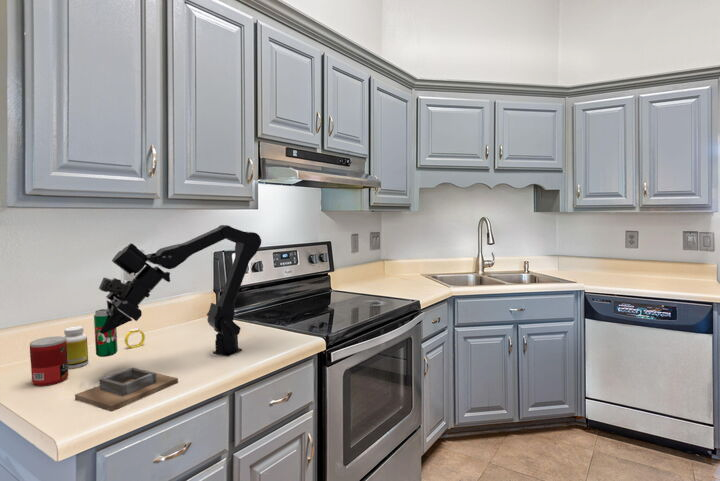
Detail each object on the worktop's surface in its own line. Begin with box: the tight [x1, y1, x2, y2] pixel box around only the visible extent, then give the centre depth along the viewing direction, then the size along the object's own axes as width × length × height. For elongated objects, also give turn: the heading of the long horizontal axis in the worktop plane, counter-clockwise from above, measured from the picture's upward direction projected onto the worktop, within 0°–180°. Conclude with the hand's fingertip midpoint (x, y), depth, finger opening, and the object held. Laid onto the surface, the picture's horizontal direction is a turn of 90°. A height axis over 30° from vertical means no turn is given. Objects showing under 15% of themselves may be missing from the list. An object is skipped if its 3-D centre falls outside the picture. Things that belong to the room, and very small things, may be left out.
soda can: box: [93, 308, 119, 358], centre depth 117 cm, size 5×5×12 cm
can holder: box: [74, 367, 179, 412], centre depth 110 cm, size 18×14×4 cm
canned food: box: [29, 335, 69, 387], centre depth 116 cm, size 8×8×11 cm
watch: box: [124, 327, 146, 349], centre depth 145 cm, size 6×3×6 cm, turn 142°
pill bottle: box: [63, 325, 89, 369], centre depth 128 cm, size 6×6×11 cm
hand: (99, 330), depth 117 cm, fingers closed on soda can, 5 cm apart
